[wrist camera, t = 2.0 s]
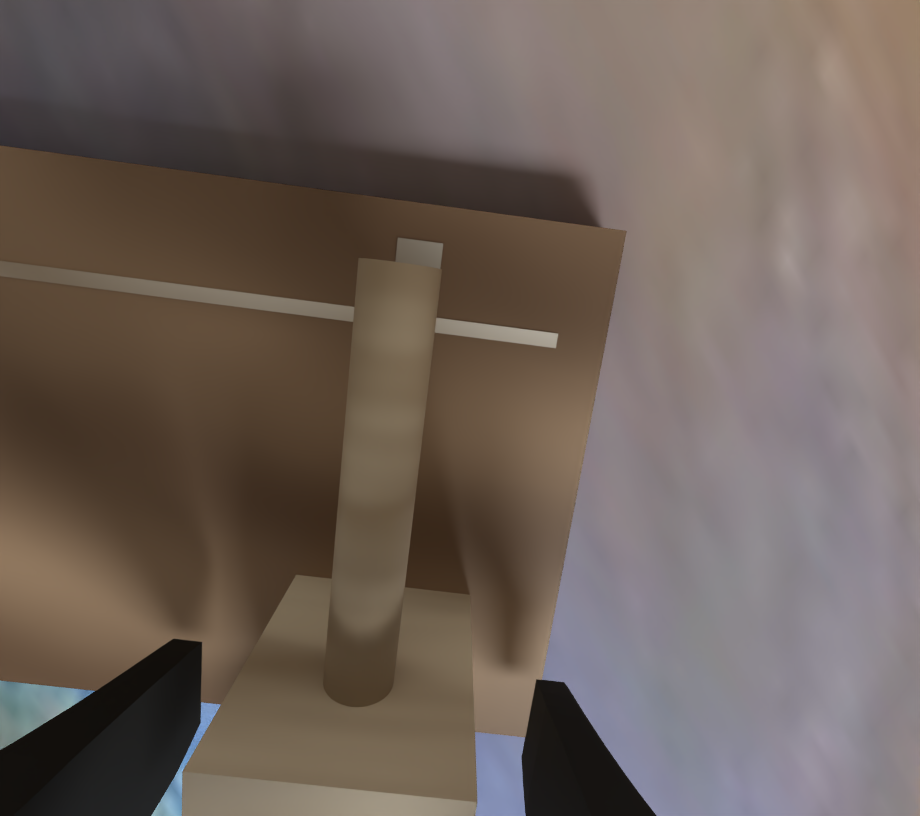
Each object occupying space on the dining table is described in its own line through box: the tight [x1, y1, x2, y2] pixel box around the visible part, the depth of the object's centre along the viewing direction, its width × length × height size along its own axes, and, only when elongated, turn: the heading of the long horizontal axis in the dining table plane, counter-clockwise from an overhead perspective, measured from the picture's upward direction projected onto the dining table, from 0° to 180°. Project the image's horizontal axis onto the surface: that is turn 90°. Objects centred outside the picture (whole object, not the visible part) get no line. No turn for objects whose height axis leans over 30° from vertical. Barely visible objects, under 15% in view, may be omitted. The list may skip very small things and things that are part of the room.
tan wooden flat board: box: [0, 145, 626, 737], centre depth 12 cm, size 12×24×2 cm, turn 83°
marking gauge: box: [182, 258, 477, 816], centre depth 10 cm, size 12×5×6 cm, turn 173°
